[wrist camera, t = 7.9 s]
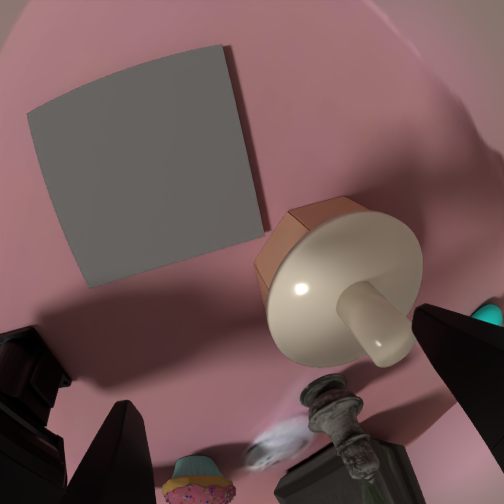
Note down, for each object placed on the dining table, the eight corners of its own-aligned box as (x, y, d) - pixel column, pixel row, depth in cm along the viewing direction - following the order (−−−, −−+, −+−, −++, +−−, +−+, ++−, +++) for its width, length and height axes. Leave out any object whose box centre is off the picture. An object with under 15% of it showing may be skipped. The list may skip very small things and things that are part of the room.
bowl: (271, 338, 23) (287, 373, 20) (244, 223, 19) (260, 248, 15) (379, 298, 25) (404, 324, 21) (377, 187, 20) (413, 202, 17)
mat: (91, 284, 18) (89, 288, 18) (30, 113, 13) (26, 113, 12) (262, 232, 20) (264, 236, 19) (220, 46, 14) (221, 44, 14)
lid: (280, 379, 20) (305, 438, 15) (247, 240, 15) (279, 297, 10) (408, 325, 21) (448, 367, 17) (418, 192, 16) (482, 221, 12)
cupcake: (230, 446, 30) (253, 534, 19) (226, 473, 33) (245, 546, 22) (156, 449, 27) (165, 541, 17) (163, 476, 31) (173, 551, 20)
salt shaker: (330, 364, 27) (390, 464, 16) (357, 381, 29) (411, 465, 19) (285, 400, 28) (328, 500, 17) (317, 413, 30) (359, 498, 20)
